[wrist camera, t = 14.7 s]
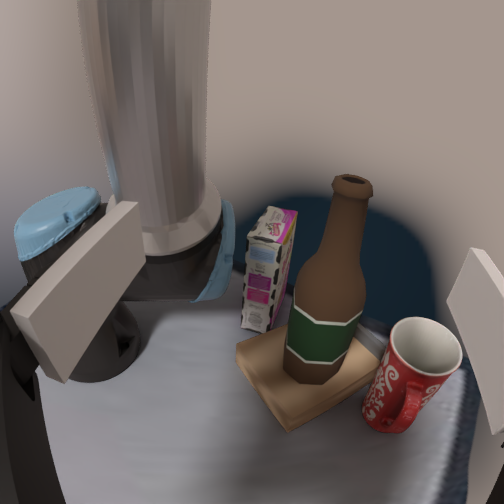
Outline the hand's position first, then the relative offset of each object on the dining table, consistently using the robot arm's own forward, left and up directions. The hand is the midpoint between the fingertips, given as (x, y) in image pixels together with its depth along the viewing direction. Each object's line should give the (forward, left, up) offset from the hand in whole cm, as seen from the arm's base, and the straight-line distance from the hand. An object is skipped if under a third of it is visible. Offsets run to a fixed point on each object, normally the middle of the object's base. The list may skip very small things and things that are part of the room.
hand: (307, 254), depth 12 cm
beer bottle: (-10, +14, -26) cm, 31 cm away
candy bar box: (-25, +17, -30) cm, 42 cm away
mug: (+1, +18, -30) cm, 35 cm away
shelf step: (-11, +15, -30) cm, 35 cm away
